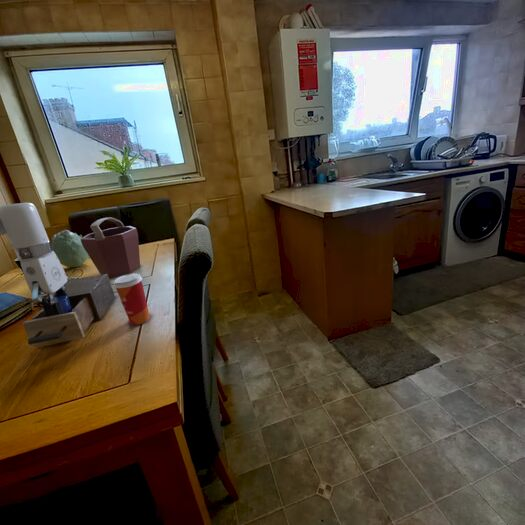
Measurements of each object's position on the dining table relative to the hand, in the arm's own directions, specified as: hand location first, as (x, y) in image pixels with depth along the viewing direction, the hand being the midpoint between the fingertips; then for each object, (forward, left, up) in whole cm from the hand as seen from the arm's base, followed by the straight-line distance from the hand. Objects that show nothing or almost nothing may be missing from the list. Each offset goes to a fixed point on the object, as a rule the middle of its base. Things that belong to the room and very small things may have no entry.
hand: (59, 310), depth 79 cm
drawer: (0, -1, -7) cm, 7 cm away
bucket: (0, +54, -8) cm, 55 cm away
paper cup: (+20, -1, -8) cm, 22 cm away
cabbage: (-27, +75, -8) cm, 81 cm away
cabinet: (0, +13, -8) cm, 16 cm away
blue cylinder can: (0, 0, -1) cm, 1 cm away
